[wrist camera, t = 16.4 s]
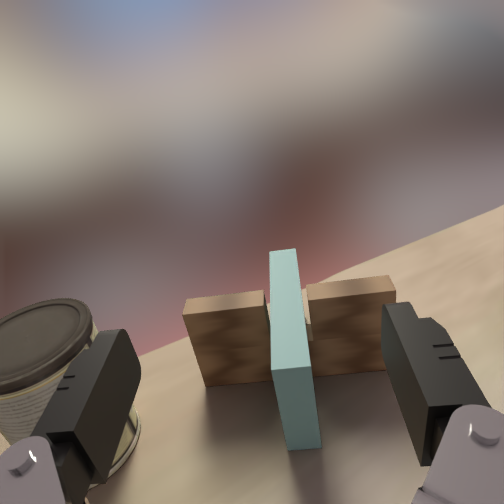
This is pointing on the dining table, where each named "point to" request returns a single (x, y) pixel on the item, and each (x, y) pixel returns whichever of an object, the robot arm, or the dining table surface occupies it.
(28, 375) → the coffee can
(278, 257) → the cross plate
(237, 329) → the base plate
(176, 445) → the dining table surface
